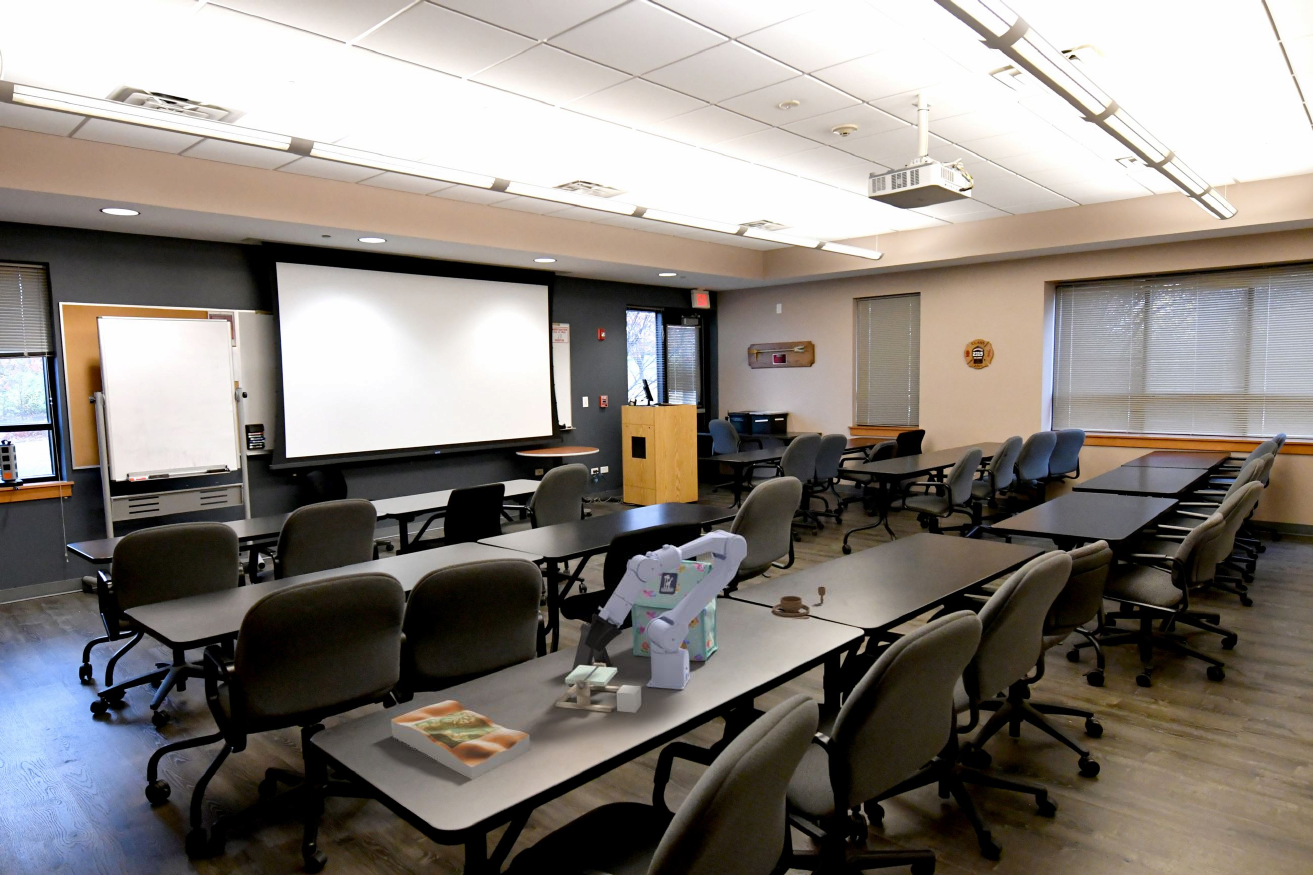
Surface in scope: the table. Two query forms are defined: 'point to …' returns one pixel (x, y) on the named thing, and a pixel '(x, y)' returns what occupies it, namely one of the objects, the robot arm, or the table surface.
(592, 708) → the trapdoor frame
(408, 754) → the table surface
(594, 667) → the trapdoor
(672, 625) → the robot arm
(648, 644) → the lunch bag
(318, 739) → the table surface
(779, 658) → the table surface
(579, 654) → the phone stand
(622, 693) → the light grey cube
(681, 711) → the table surface
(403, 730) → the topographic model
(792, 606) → the place setting
